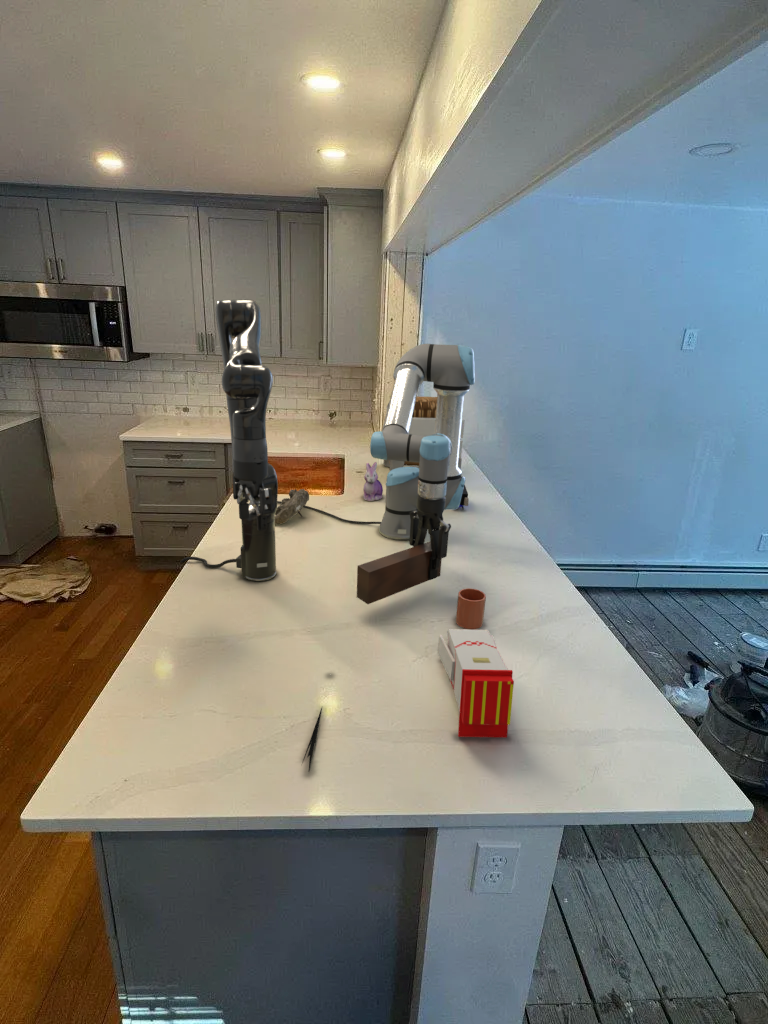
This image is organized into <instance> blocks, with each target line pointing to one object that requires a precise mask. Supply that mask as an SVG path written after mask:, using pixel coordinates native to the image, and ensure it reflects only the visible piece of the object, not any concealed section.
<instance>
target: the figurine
mask: <svg viewBox="0 0 768 1024" xmlns="http://www.w3.org/2000/svg"><path fill="white" fill-rule="evenodd" d="M365 464H366V465H365V466H366V467H365V470H366V471H365V474H364V475H363V476H364V480H365V483H364V485H363V495H362V498H363V500H364V501H368V502H373V501H378V500H381V499H382V498H383V493H384V487H383V483H382V482H381V481H380V480H379V475H378V473H377V468H378V462H377V461H375V462H374V463H373V464H372V465H370V463H369V462H366V463H365Z"/></svg>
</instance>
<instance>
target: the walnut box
mask: <svg viewBox="0 0 768 1024" xmlns="http://www.w3.org/2000/svg"><path fill="white" fill-rule="evenodd" d="M430 557H432V551H431V541H430V540H429V541H427V542H424V544H421V545H418V546H415V547H413V546H412V547H409V548H406V549H403V550H400V551H397V552H394V553H392V554H389V555H385V556H382V557H380V558H376V559H373V560H371V561H367V562H364V563H361V564H359V565H357V569H356V571H357V572H356V573H357V575H356V598H357V599H358V600H360V601H361V602H363V603H365V604H367V605H371V604H373V603H376V602H378V601H381V600H383V599H386V598H389V597H390V596H393V595H395V594H398V593H401V592H403V591H406V590H408V589H411V588H413V587H416V586H418V585H422V584H424V583H426V582H428V581H430V580H429V579H428V574H429V561H430ZM442 560H443V558H442V559H440V566H439V569H438V571H437V578H439V577H441V573H442V571H441V570H442V562H443V561H442Z"/></svg>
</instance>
